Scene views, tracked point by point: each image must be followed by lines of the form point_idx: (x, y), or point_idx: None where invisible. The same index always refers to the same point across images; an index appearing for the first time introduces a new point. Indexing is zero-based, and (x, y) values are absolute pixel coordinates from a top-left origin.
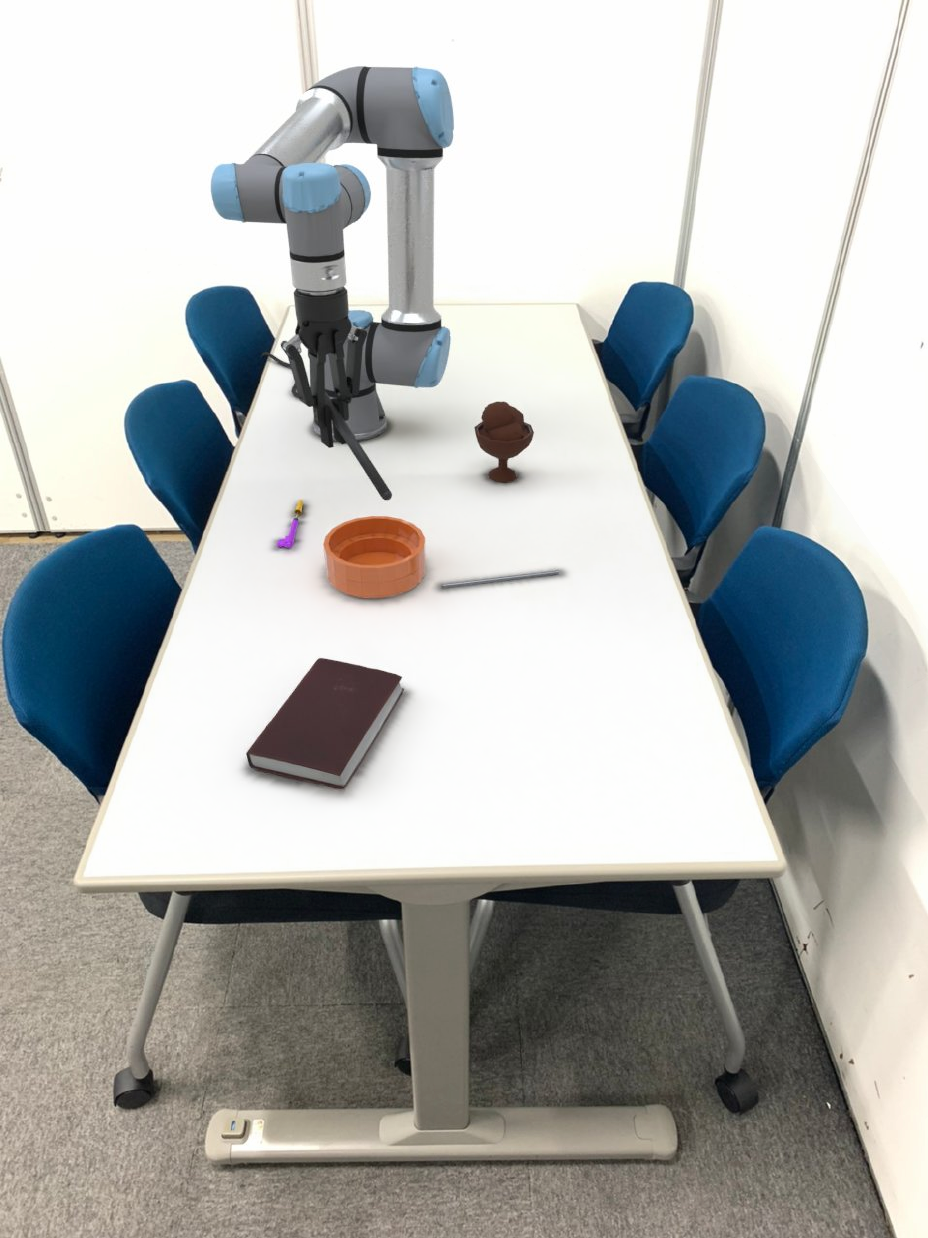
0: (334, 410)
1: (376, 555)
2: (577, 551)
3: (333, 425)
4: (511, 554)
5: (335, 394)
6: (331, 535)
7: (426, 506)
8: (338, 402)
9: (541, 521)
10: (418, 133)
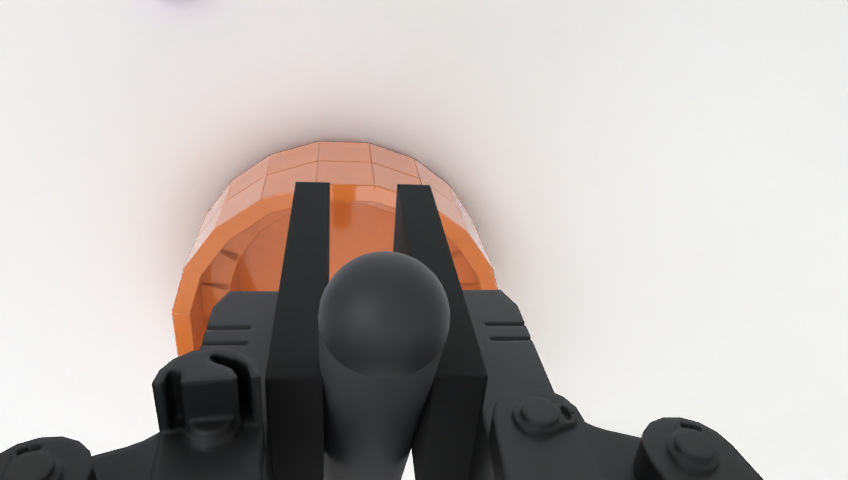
0: (365, 476)
1: (385, 213)
2: (763, 420)
3: (405, 241)
4: (659, 365)
5: (488, 441)
6: (234, 236)
7: (716, 30)
8: (448, 471)
9: (838, 292)
10: None
